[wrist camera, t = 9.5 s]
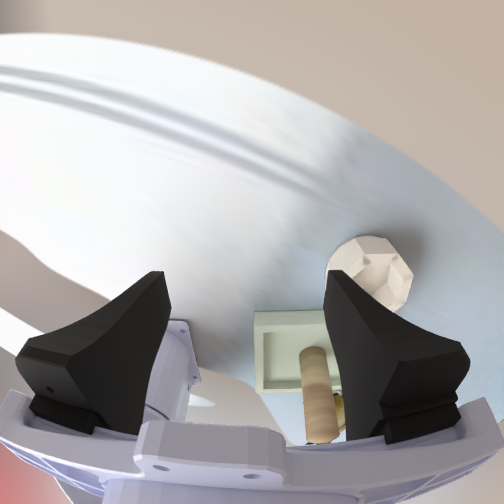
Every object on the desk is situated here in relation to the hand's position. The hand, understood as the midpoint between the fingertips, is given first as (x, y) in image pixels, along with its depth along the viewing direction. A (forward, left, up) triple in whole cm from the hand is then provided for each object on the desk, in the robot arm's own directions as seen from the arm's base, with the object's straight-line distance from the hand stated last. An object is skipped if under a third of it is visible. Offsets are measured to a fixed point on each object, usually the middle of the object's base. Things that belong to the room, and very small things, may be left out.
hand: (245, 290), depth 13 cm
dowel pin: (-14, -6, -9) cm, 17 cm away
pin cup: (-5, -9, -9) cm, 14 cm away
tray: (-14, -6, -9) cm, 18 cm away
